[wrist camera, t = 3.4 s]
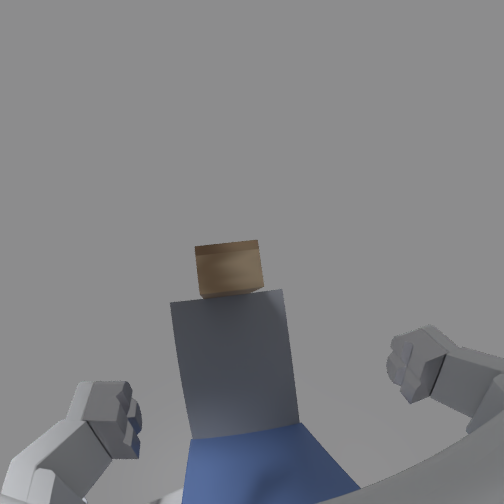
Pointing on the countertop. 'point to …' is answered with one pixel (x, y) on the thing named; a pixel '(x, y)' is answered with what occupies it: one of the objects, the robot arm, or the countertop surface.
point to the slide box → (228, 269)
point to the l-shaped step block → (247, 407)
